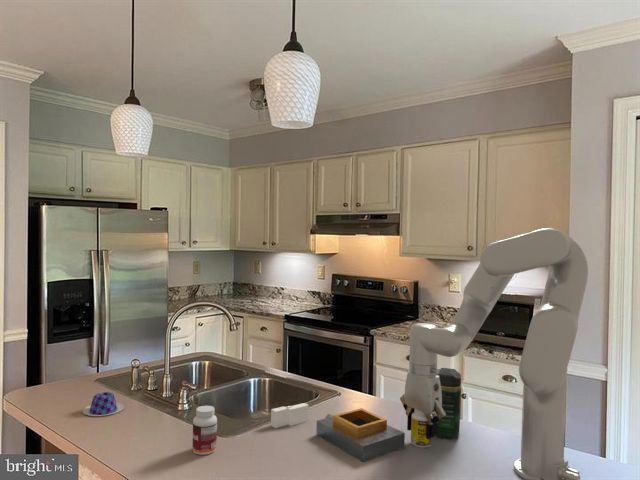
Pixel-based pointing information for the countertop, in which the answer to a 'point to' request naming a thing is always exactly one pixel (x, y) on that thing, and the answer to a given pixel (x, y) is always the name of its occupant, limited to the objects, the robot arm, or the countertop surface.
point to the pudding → (103, 405)
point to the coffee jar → (449, 403)
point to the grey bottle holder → (360, 434)
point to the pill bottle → (204, 431)
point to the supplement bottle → (419, 429)
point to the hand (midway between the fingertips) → (421, 432)
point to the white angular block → (289, 415)
